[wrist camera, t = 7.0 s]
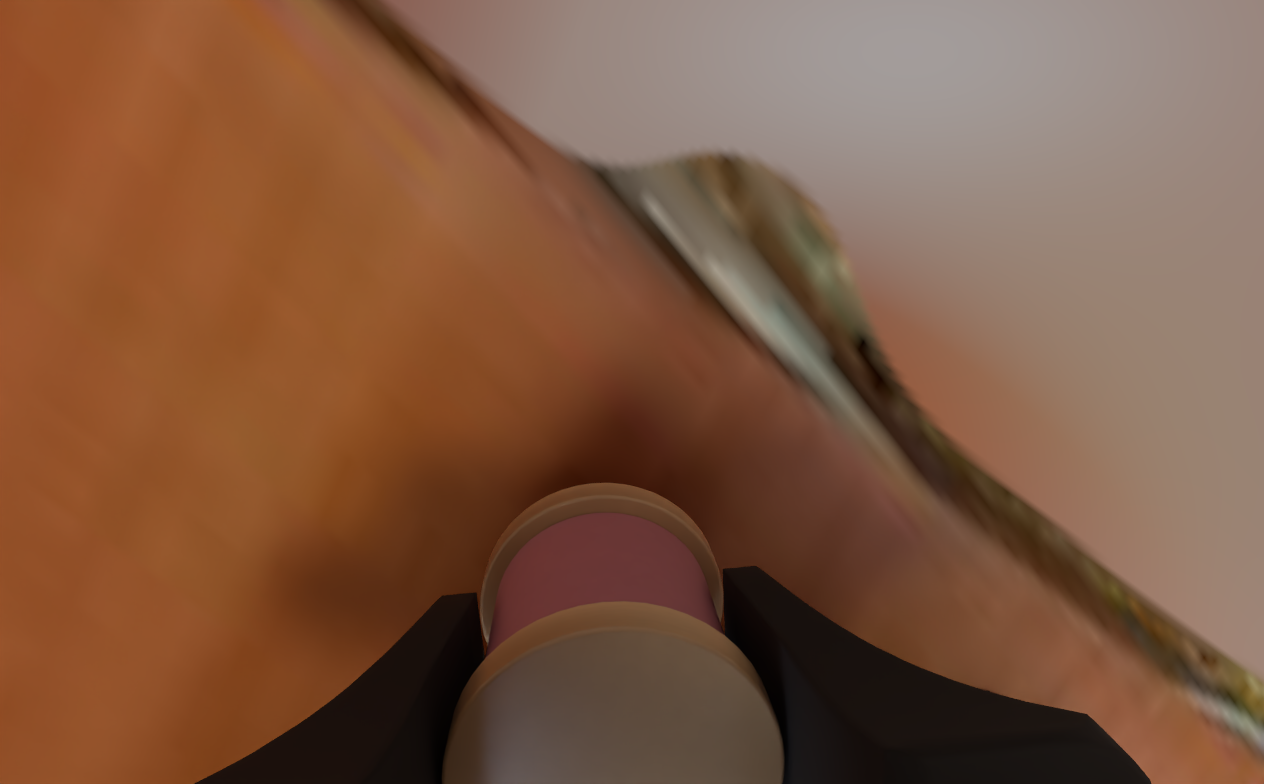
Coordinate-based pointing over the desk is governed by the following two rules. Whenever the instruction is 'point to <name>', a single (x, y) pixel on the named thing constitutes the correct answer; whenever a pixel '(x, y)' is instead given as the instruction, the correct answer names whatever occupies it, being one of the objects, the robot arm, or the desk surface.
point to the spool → (609, 655)
